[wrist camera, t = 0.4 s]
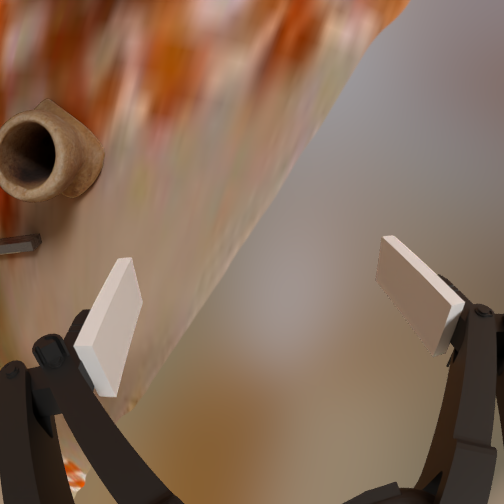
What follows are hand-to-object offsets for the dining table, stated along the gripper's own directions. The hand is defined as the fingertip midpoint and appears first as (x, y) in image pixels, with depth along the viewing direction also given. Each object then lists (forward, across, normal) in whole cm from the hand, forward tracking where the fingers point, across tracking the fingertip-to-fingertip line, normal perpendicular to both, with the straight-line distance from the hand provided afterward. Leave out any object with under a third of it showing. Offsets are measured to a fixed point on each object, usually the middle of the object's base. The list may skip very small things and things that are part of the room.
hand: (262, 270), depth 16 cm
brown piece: (+28, -23, +7) cm, 37 cm away
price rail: (+28, -42, -7) cm, 51 cm away
